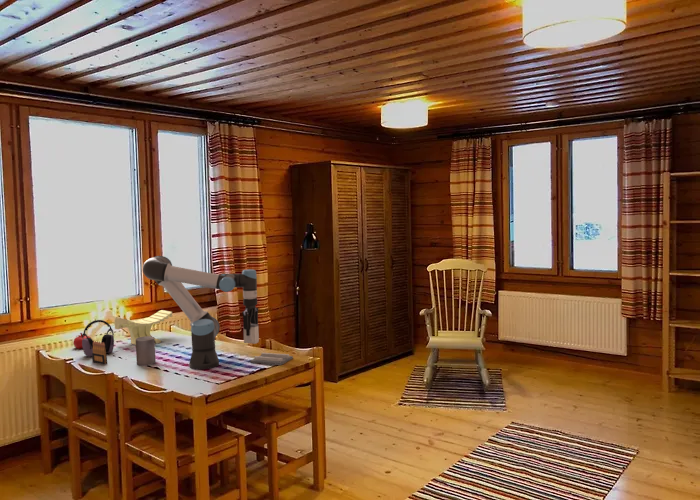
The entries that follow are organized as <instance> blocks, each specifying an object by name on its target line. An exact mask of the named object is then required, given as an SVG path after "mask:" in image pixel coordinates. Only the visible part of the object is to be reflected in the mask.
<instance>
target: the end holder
mask: <svg viewBox="0 0 700 500" xmlns="http://www.w3.org/2000/svg"><path fill="white" fill-rule="evenodd" d="M293 358H294V357H293V356H292V355H290V354H289V353H287V354H286V353H274V352H273V353H271V352H261V353H260V355H258V356H257V355H256V356H254V357H253V359H251V360H250V364H258V363H261V365H271V364H272V365H274V366H282V365H284V364H285V363H287V362H289V361H291V360H292V359H293Z"/></svg>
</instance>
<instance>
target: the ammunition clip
mask: <svg viewBox="0 0 700 500" xmlns="http://www.w3.org/2000/svg"><path fill="white" fill-rule="evenodd" d="M107 354H108V353H107V352H106V349H105V344H104V342H103V343H102V342H101V341H100V340H99V341H98V340H93V353H92V356H91V357H92V363H95V364H98V365H99V364H100V365H108V355H107Z"/></svg>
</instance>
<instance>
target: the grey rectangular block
mask: <svg viewBox="0 0 700 500" xmlns="http://www.w3.org/2000/svg"><path fill="white" fill-rule="evenodd" d="M242 327H243V328H242V329H243V343H244V344H254V345H255V344H258V343H259V342H260V340H259V339H260V337H259V336H260V335H259V323H258V324H251V327H250V329H251V337H252V341H251V342H250V341H247V339H246V330H245V329H244V325H243V326H242Z"/></svg>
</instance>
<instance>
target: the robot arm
mask: <svg viewBox="0 0 700 500" xmlns="http://www.w3.org/2000/svg"><path fill="white" fill-rule="evenodd" d="M142 273H143V275H144V277H146V278H147V279H148V280H151V281H155V283H156V284H157V285H158V286H162V287H163V288H164V289H165V290H166V292H167V294H169V296H170V297H171V298H172V300H174V302H175V303H176V305H178V307H179V308H180V310H182V312H183V313H184V315H185V316H186V317H187V318H188V320H189V321H190V322H189V326H190V332H191V333H190V336H191V356H190V359H189V362H188V363H189V364H188V365H189V368H190V369H193V370H208V369H213V368H216V367H218V366H220V359H219V357H218V354H217V353H218V352H216V338H217V336H218V334H219V332H220V323H219V321H218V320H217V319H216V318H215V317H213V316H212V315H211V314H210V313H209V311H206V310H203V308H202V307H201V306H200V305H199V303H198V302H197V301H196V300H195V298H194V297H193V295H191V292H190V291H188V288H186V287H185V286H184V284H187V285H191V286H194V285H195V286H199V287H205V288H209V289H214V290H215V289H216V290H221V291H222V292H225V293H229V292H232V290H234V289H235V288H242V298H243V300H242V301H243V303H242V304H243V306H245V308H244V310H243V311H242V312H241V313H242V320H243V325H244V328H243V330H244V329H245V330H246V339H247V341H250V342H251V341H252V337H251V329H250V327H251V324H258V325H259V307H256V306H257V305H258V286H257V285H258V279H257V278H258V277H257V271H256V270H255V269H252V268H251V269H249V268H248V269H242V271H241V273H221V274H217V273H212V272H207V271H201V270H196V269H192V268H191V269H190V268H184V267H180V266H176V265H175V266H174V265H173V263H172V261H171V260H170V259H169V258H168V257H166V256H164V255H163V256H162V255H156V256H153V257H150V258H148V259H147V260H146V261H145V262H143V265H142Z"/></svg>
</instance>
